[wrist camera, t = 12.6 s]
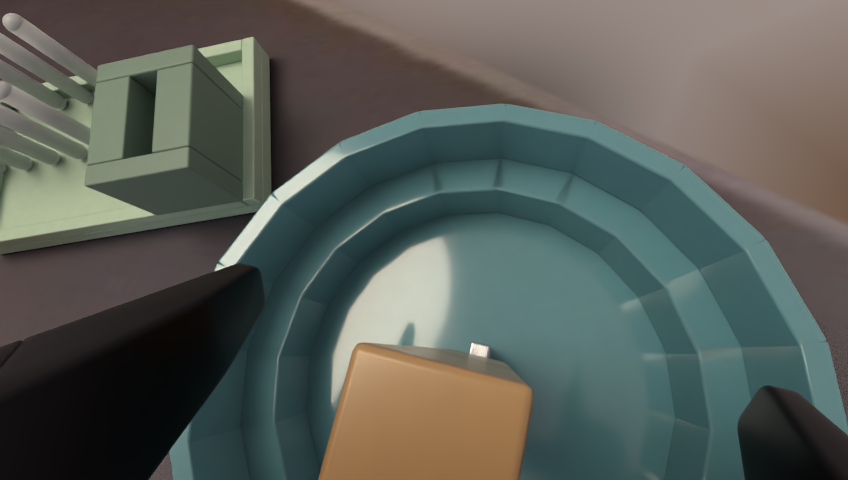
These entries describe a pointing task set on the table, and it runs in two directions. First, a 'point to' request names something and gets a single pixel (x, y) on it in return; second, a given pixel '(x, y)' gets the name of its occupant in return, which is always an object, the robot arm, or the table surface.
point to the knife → (428, 416)
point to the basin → (514, 298)
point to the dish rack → (129, 140)
